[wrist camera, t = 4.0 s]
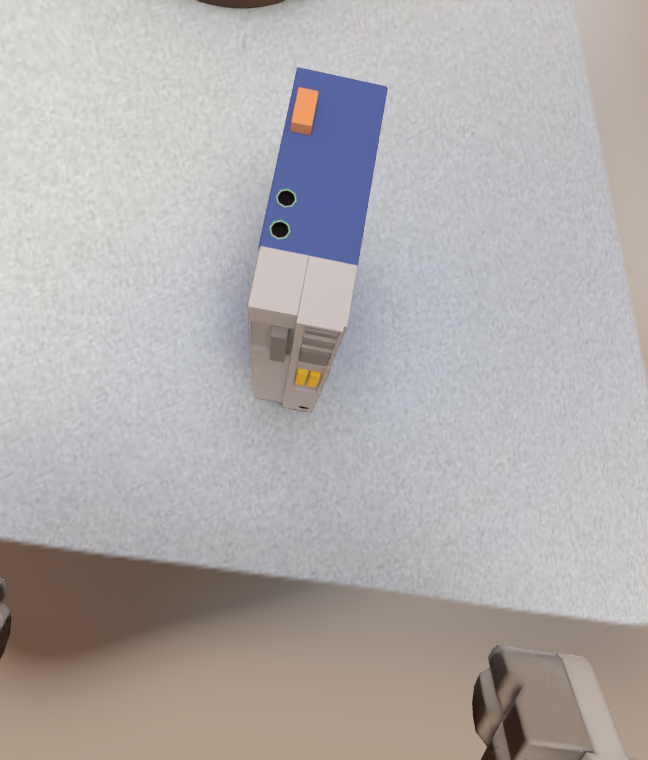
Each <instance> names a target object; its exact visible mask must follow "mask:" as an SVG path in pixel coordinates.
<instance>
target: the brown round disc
mask: <svg viewBox="0 0 648 760" xmlns="http://www.w3.org/2000/svg"><path fill="white" fill-rule="evenodd" d="M200 1H203V2H206V3H210V4H214V5H219V6H225V7H234V8H249V7H258V6H265V5H269V4H274V3H277V2H280V1H283V0H200Z"/></svg>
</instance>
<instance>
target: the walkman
mask: <svg viewBox="0 0 648 760" xmlns="http://www.w3.org/2000/svg"><path fill="white" fill-rule="evenodd" d="M387 89H388V88H387V87H386V86H381V85H377V84H372V83H368V82H363V81H358V80H354V79H349V78H345V77H340V76H335V75H331V74H326V73H322V72H317V71H312V70H308V69H303V68H299V67H298V68H297V71H296V75H295V80H294V85H293V89H292V94H291V99H290V103H289V108H288V113H287V117H286V122H285V126H284V131H283V136H282V140H281V145H280V150H279V154H278V159H277V164H276V168H275V173H274V178H273V182H272V187H271V192H270V196H269V201H268V206H267V210H266V215H265V220H264V224H263V229H262V234H261V238H260V243H259V254H258V259H257V263H256V268H255V273H254V277H253V282H252V287H251V291H250V296H249V301H248V305H247V306H248V321H249V335H250V350H251V364H252V379H253V393H254V398H259V399H265V400H270V401H276V402H282V403H283V406H282V407H285V408H290V409H295V410H301V411H306V412H311V413H312V411H313V408H314V406H315V404H316V402H317V399H318V397H319V395H320V392H321V390H322V388H323V385H324V383H325V381H326V379H327V376H328V374H329V372H330V369H331V364H332V362H333V360H334V357H335V355H336V352H337V350H338V348H339V345H340V343H341V341H342V338H343V336H344V334H345V331H346V329H347V326H348V320H349V314H350V309H351V303H352V297H353V291H354V285H355V279H356V273H357V267H358V261H359V255H360V249H361V243H362V237H363V231H364V225H365V219H366V213H367V207H368V201H369V195H370V189H371V183H372V178H373V172H374V166H375V160H376V154H377V148H378V142H379V136H380V130H381V124H382V118H383V112H384V106H385V100H386V95H387ZM283 399H284V400H283Z"/></svg>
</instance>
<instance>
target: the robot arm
mask: <svg viewBox="0 0 648 760" xmlns="http://www.w3.org/2000/svg"><path fill="white" fill-rule="evenodd" d="M6 593H7V587H6V582H5V578H1V577H0V658H1V657H2V655H3V653H4V650H5V647H6V644H7V641H8V638H9V635H10V627H11V614H10V610H9V608H7V607H6V606H5V605H4V604H3V603H2V600H3V599H4V597H5V595H6ZM488 659H489V664H490V668H489V669H487V670H485V671H483V672H481V673H480V674H479V677H478V679H477V681H476V684H475V685H474V694H473V701H472V706H473V719H474V724H475V730H476V733H477V734H478V735H479V736H480V738H481V739H482V740H483V742H484V743H485V744H486V746H487V749H486V751H485V753H484V755H483V757H482V759H481V760H637V759H634V758H628V757H627V754H626V752H625V749H624V746H623V744H622V741H621V739H620V736H619V734H618V731H617V729H616V726H615V723H614V721H613V718H612V716H611V713H610V711H609V708H608V706H607V703H606V701H605V698H604V696H603V693H602V690H601V688H600V685H599V683H598V680H597V678H596V675H595V673H594V670H593V668H592V665H591V663H590V662H589V661H588V659H587V658H586V657H583V656H577V655H569V654H561V653H554V652H552V651H544V650H537V649H528V648H520V647H512V646H504V645H497V646H496V647H494V648H493V649H492V651H491V653H490V655H489V657H488Z"/></svg>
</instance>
